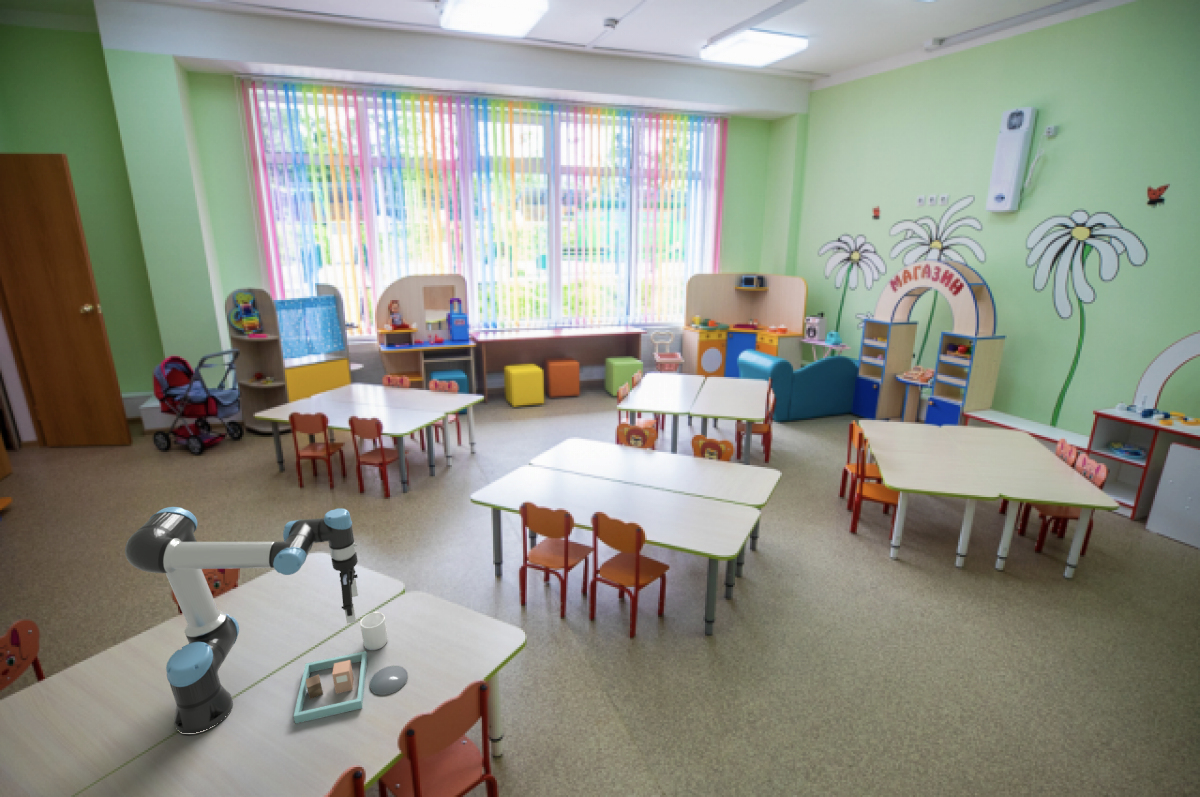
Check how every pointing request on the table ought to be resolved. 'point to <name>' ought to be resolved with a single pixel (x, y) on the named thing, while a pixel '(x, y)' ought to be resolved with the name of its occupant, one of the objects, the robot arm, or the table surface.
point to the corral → (334, 708)
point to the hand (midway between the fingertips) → (352, 608)
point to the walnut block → (314, 686)
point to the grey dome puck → (388, 680)
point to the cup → (374, 631)
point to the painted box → (343, 676)
